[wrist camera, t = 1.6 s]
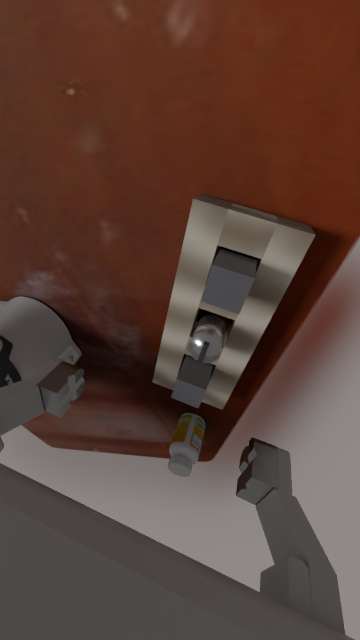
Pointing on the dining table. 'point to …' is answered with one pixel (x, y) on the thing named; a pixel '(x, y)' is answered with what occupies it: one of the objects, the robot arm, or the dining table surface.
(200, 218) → the mount
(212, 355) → the steel dial
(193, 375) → the inner button
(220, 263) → the outer button
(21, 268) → the dining table surface
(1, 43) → the dining table surface
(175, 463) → the supplement bottle
